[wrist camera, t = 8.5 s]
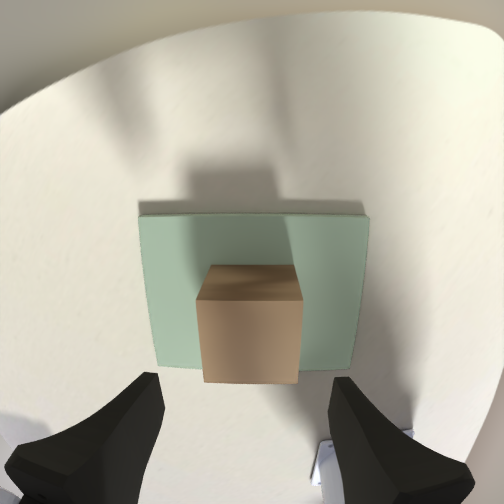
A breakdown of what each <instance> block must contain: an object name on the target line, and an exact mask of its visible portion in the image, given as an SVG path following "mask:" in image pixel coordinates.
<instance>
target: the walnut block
mask: <svg viewBox="0 0 504 504" xmlns="http://www.w3.org/2000/svg"><path fill="white" fill-rule="evenodd" d="M195 301H196V312H197V322H198V332H199V342H200V351H201V360H202V368H203V377H204V382H206V383H230V384H298V372H299V360H300V347H301V333H302V319H303V302H304V300H303V296H302V293H301V289H300V285H299V281H298V277H297V274H296V270H295V266H294V265H211V266H210V269H209V271H208V273H207V275H206V277H205V280H204V282H203V284H202V286H201V289H200V291H199V293H198V296H197V298H196V300H195Z"/></svg>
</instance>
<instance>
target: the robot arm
mask: <svg viewBox="0 0 504 504" xmlns="http://www.w3.org/2000/svg"><path fill="white" fill-rule="evenodd" d="M164 411H165V405H164V400H163V396H162V391H161V387H160V382H159V377H158V373H150V372H143V373H142V374H141V375H140V376H139V377H138V378H137V379H135V380H134V381H133V382H132V383H131V384H130V385H129V386H128V387H127V388H126V389H124V390H123V391H122V392H121V393H120V394H119V395H118V396H116V397H115V398H114V399H113V400H112V401H110V402H109V403H108V404H106V405H105V406H104V407H103V408H101V409H100V410H99V411H97V412H96V413H94V414H93V415H91V416H90V417H88V418H87V419H85V420H83V421H82V422H80V423H78V424H76V425H74V426H72V427H70V428H68V429H66V430H64V431H62V432H60V433H57V434H55V435H52V436H50V437H47V438H44V439H41V440H37V441H34V442H30V443H25V444H21V445H18V446H17V447H16V449H15V450H14V452H13V453H12V455H11V456H10V458H9V459H8V461H7V462H6V464H5V466H4V468H5V471H6V473H7V475H8V476H9V477H10V479H11V480H12V481H13V482H14V483H15V485H16V486H17V487H18V488H19V489H20V490H21V492H22V493H23V494H24V495H23V497H22V499H20V498H19V497H18V496H16V495H15V494H13V493H11V492H10V491H8V490H6V489H4V488H2V487H0V504H138V499H139V494H140V489H141V484H142V480H143V476H144V472H145V469H146V466H147V463H148V461H149V458H150V455H151V453H152V450H153V447H154V445H155V442H156V439H157V437H158V434H159V431H160V428H161V425H162V420H163V416H164ZM328 418H329V427H330V434H331V438H332V440H326V441H322V442H321V443H320V446H319V450H318V454H317V458H316V463H315V467H314V471H313V475H312V479H311V485H313V486H316V485H321V488H322V495H323V503H324V504H461V502H462V501H463V500H464V499H465V498H466V497H467V496H468V495H469V494H470V492H471V491H472V489H473V488H474V485H475V481H474V479H473V476H472V474H471V472H470V470H469V468H468V467H467V465H466V464H465V463H462V462H459V461H457V460H454V459H451V458H448V457H446V456H443V455H441V454H439V453H437V452H435V451H433V450H431V449H429V448H427V447H425V446H424V445H422V444H420V443H419V442H417V441H415V440H414V439H413V436H414V431H413V430H405V431H401V430H400V429H399V428H397V427H396V426H395V425H394V424H392V423H391V422H390V421H389V420H388V419H387V418H386V417H385V416H384V415H383V414H382V413H381V412H380V411H379V410H378V409H377V408H376V407H375V406H374V405H373V404H372V403H371V402H370V401H369V400H368V398H367V397H366V396H365V395H364V394H363V393H362V391H361V390H360V389H359V388H358V387H357V385H356V384H355V383H354V382H353V381H352V379H351V378H350V377H334V382H333V388H332V393H331V398H330V404H329V409H328Z"/></svg>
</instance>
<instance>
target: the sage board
mask: <svg viewBox="0 0 504 504" xmlns="http://www.w3.org/2000/svg"><path fill="white" fill-rule="evenodd" d="M369 222H370V218H369V217H368V216H366V215H335V214H272V213H216V214H154V215H141V216H139V217H138V224H139V235H140V246H141V255H142V265H143V273H144V281H145V289H146V296H147V303H148V310H149V317H150V323H151V329H152V335H153V341H154V347H155V352H156V358H157V363H158V366H163V367H175V368H188V369H203V368H202V360H201V351H200V342H199V332H198V322H197V312H196V301H195V300H196V298H197V296H198V293H199V291H200V289H201V286H202V284H203V282H204V280H205V277H206V275H207V273H208V271H209V269H210V266H211V265H294V266H295V270H296V274H297V277H298V281H299V285H300V289H301V293H302V296H303V300H304V302H303V319H302V333H301V347H300V360H299V371H318V370H339V369H350V365H351V359H352V354H353V348H354V343H355V337H356V331H357V325H358V318H359V312H360V305H361V297H362V290H363V282H364V274H365V265H366V256H367V245H368V234H369Z"/></svg>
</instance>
